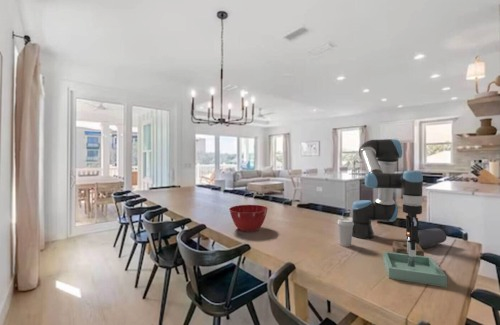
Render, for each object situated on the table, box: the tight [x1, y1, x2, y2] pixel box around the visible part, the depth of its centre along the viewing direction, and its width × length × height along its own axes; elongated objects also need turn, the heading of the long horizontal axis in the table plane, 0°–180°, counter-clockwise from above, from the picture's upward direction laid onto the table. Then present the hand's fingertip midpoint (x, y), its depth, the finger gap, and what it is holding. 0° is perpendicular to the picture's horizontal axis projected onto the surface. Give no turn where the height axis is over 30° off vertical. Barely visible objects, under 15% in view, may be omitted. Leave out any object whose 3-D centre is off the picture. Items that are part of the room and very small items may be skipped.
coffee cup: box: [337, 218, 354, 248], centre depth 153 cm, size 10×10×15 cm
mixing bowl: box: [228, 204, 268, 233], centre depth 186 cm, size 28×28×16 cm
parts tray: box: [382, 250, 448, 288], centre depth 117 cm, size 21×21×4 cm
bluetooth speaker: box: [416, 227, 447, 249], centre depth 150 cm, size 23×9×10 cm, turn 111°
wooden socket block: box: [392, 240, 425, 256], centre depth 134 cm, size 12×12×6 cm
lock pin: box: [406, 232, 415, 267], centre depth 117 cm, size 4×4×15 cm
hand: (411, 254), depth 117 cm, fingers closed on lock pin, 3 cm apart
